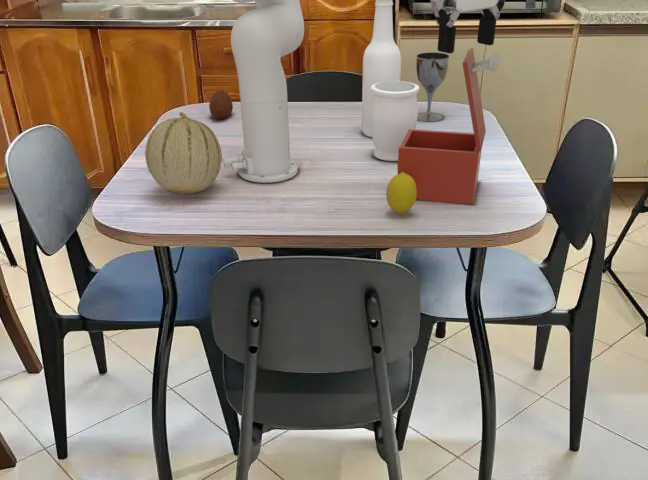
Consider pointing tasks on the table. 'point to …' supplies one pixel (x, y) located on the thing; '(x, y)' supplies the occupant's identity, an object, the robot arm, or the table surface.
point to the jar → (392, 116)
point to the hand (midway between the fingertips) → (465, 47)
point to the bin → (441, 164)
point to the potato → (220, 104)
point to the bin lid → (477, 91)
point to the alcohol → (379, 59)
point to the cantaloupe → (183, 155)
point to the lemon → (401, 192)
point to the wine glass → (431, 78)
